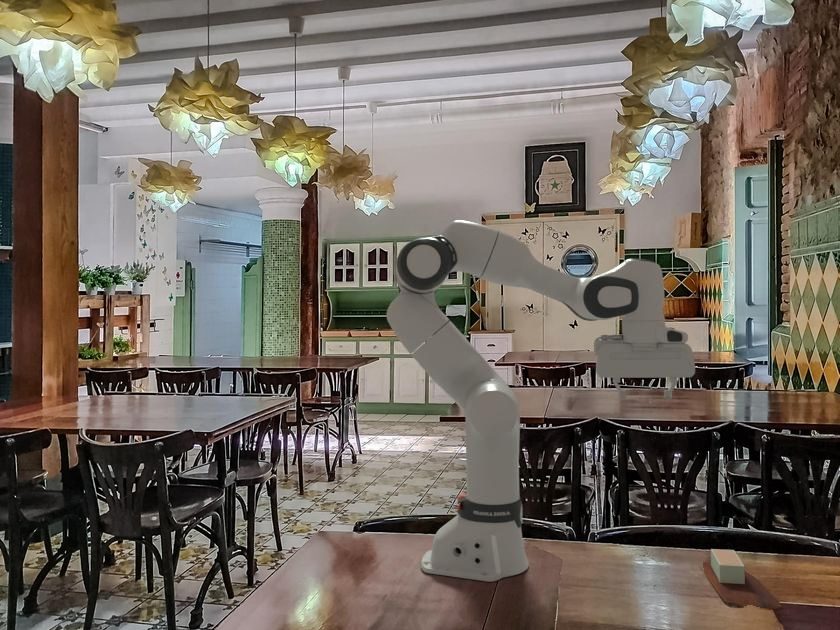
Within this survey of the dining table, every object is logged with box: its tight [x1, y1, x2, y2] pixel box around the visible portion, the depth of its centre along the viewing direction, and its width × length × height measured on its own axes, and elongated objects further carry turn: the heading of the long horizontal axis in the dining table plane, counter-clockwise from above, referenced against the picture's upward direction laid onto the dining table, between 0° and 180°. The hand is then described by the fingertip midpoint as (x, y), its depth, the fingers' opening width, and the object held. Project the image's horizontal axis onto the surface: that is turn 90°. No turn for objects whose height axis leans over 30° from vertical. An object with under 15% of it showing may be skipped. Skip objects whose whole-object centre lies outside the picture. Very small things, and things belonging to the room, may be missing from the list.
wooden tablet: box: [703, 561, 783, 611], centre depth 135 cm, size 27×10×2 cm, turn 171°
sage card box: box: [710, 548, 745, 584], centre depth 135 cm, size 4×4×9 cm
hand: (644, 398), depth 148 cm, fingers open, 8 cm apart
